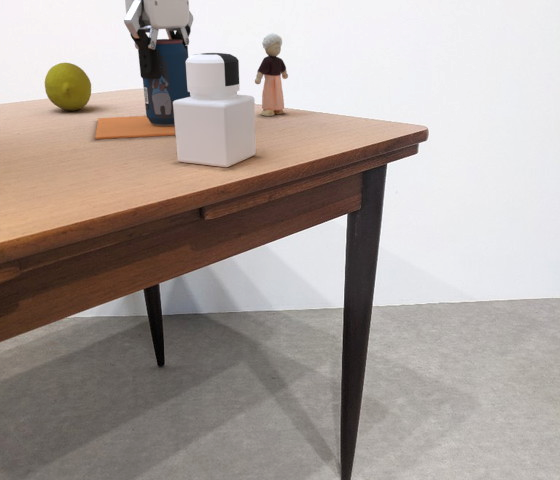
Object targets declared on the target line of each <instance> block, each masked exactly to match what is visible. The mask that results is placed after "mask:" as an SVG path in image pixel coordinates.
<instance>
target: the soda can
mask: <svg viewBox="0 0 560 480" xmlns="http://www.w3.org/2000/svg"><path fill="white" fill-rule="evenodd" d="M182 42H183V40H180V39H169V38H159V39H158V38H157V42H156V47H155V49H159V57H160V68H161V78H160V79H144V78H142V84H143V85H142V86H143V94H144V95H143V96H144V106H145V116H147V118H148V119H149V121H150V122H151V124H152V125H154V126H163V127H169V126H175V124H174V112H173V102H174V101H175V100H179V99H183V98H187V97H191V92H188V89H187V74H186V60H187V58H189V53H188V54H187V51H186V49H185V47H184V45H183V43H182Z"/></svg>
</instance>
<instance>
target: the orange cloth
mask: <svg viewBox="0 0 560 480" xmlns="http://www.w3.org/2000/svg"><path fill="white" fill-rule="evenodd" d="M165 136H166V137H168V136H175V126H169V127H163V126H154V125H152V124H151V122H150V121H149V119H148V118H147V116H146V115H138V116H137V115H136V116H115V117H113V116H112V117H98V119H97V124H96V129H95V135H94V140H110V139H129V138H147V137H148V138H149V137H165Z"/></svg>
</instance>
